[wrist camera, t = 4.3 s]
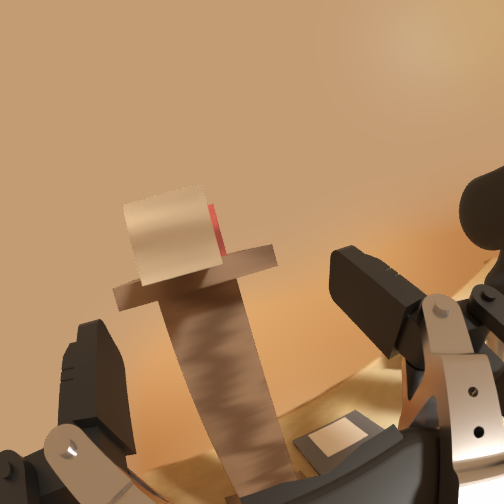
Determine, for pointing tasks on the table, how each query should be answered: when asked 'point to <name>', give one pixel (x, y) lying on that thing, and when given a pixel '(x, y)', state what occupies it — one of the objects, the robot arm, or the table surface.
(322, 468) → the mat
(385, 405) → the table surface
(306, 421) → the table surface
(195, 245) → the stamp
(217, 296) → the wooden pedestal column
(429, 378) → the robot arm
